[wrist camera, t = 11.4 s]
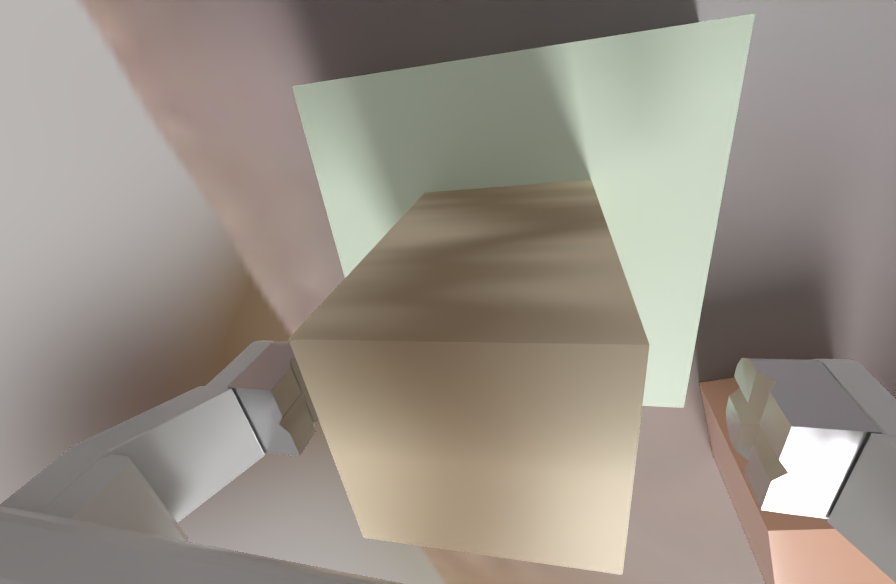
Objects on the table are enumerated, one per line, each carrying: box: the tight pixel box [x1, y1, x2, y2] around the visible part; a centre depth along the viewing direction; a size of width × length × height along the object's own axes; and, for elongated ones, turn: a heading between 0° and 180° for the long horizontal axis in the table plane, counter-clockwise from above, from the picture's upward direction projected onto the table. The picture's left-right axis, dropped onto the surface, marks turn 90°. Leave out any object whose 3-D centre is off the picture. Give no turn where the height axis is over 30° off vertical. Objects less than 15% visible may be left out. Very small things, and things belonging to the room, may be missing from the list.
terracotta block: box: [699, 377, 896, 584], centre depth 16 cm, size 5×5×7 cm
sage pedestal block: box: [292, 14, 755, 408], centre depth 15 cm, size 12×12×4 cm
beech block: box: [289, 180, 650, 575], centre depth 10 cm, size 5×5×8 cm
